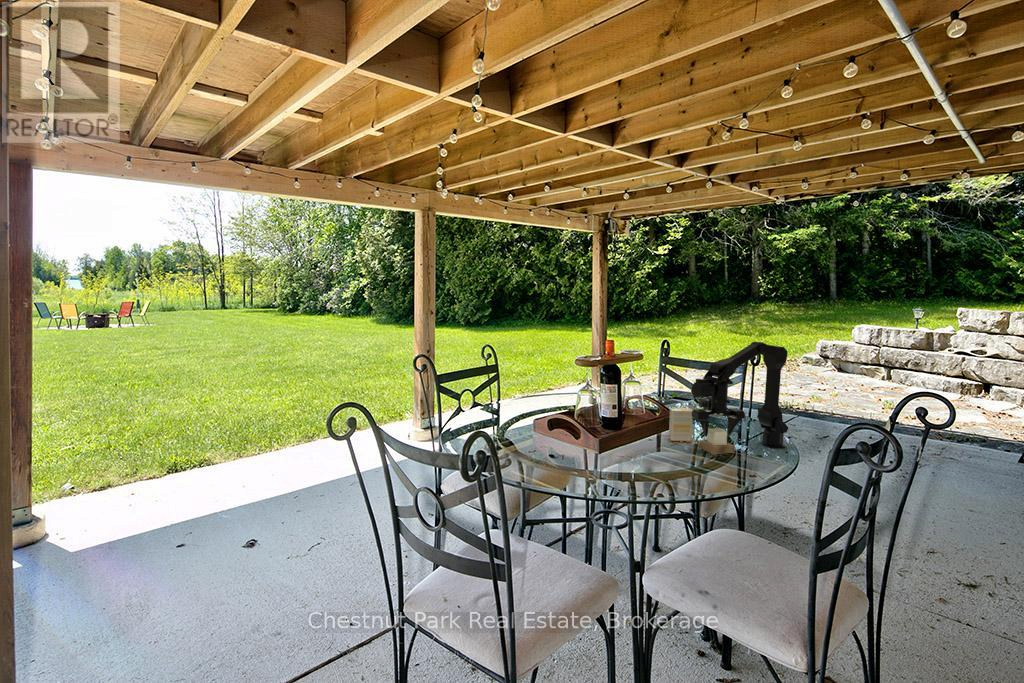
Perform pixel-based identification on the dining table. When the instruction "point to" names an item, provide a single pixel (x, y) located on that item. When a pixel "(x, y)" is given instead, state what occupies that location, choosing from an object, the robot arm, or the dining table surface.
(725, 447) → the walnut block
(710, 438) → the cube
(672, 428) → the supplement box
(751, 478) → the dining table surface
